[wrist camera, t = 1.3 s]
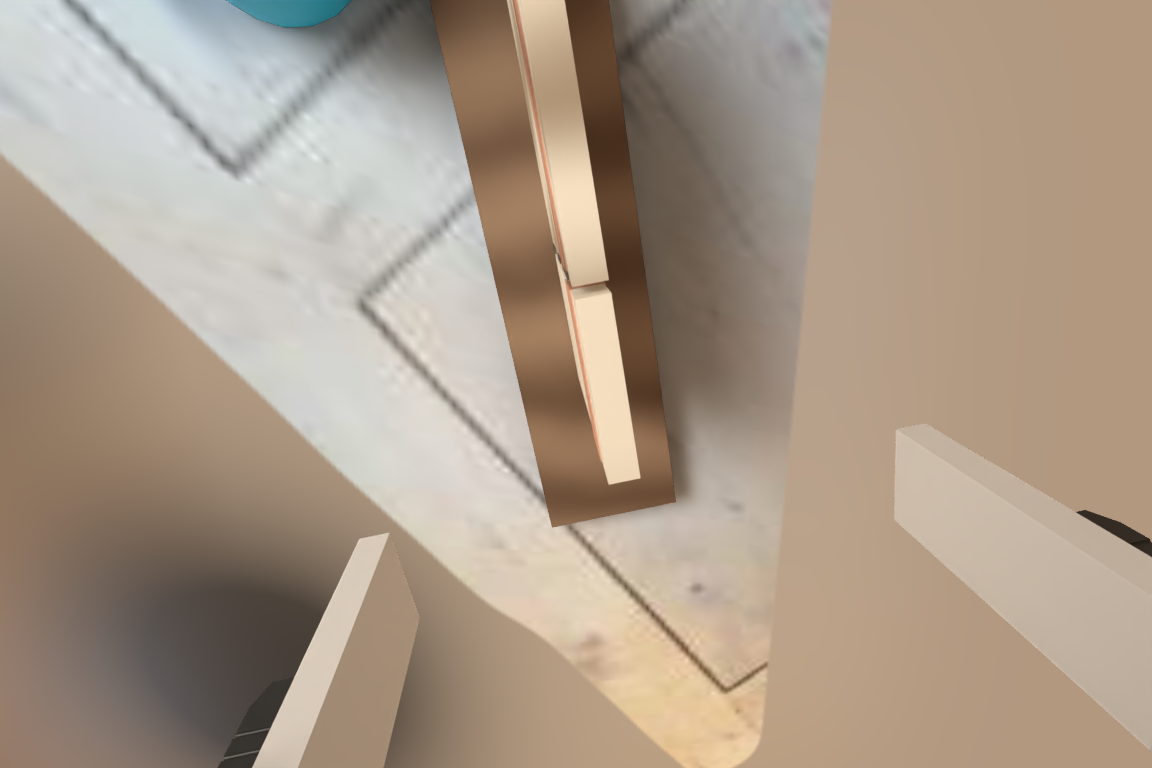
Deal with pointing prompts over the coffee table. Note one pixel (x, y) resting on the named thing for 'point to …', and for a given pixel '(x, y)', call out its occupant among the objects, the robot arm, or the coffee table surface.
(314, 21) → the mug
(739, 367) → the coffee table surface
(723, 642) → the coffee table surface
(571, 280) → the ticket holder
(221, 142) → the coffee table surface
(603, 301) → the stub
